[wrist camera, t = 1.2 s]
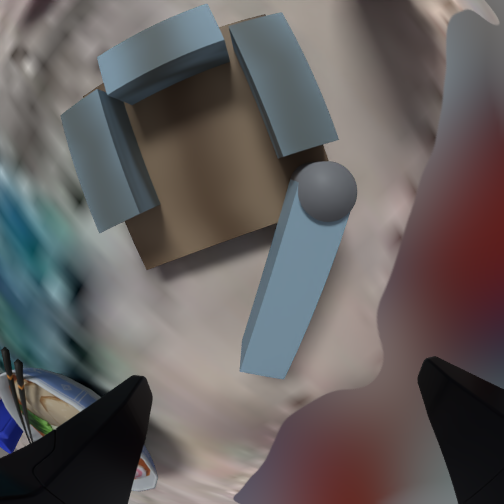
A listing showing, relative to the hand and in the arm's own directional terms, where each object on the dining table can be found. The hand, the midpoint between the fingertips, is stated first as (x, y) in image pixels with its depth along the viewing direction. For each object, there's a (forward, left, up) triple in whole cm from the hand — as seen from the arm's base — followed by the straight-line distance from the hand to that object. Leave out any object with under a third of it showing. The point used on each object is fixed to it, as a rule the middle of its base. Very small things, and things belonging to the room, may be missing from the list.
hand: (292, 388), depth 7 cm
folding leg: (-1, 0, -11) cm, 11 cm away
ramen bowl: (+28, +12, -14) cm, 34 cm away
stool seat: (+1, -9, -13) cm, 16 cm away
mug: (+52, +13, -14) cm, 56 cm away
